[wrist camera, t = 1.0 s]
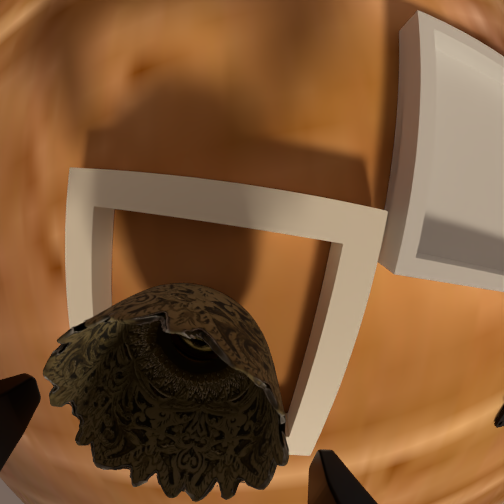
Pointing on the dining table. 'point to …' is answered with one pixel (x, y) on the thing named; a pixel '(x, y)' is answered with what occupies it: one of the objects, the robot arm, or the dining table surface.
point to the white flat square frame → (242, 215)
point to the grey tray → (447, 159)
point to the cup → (174, 391)
